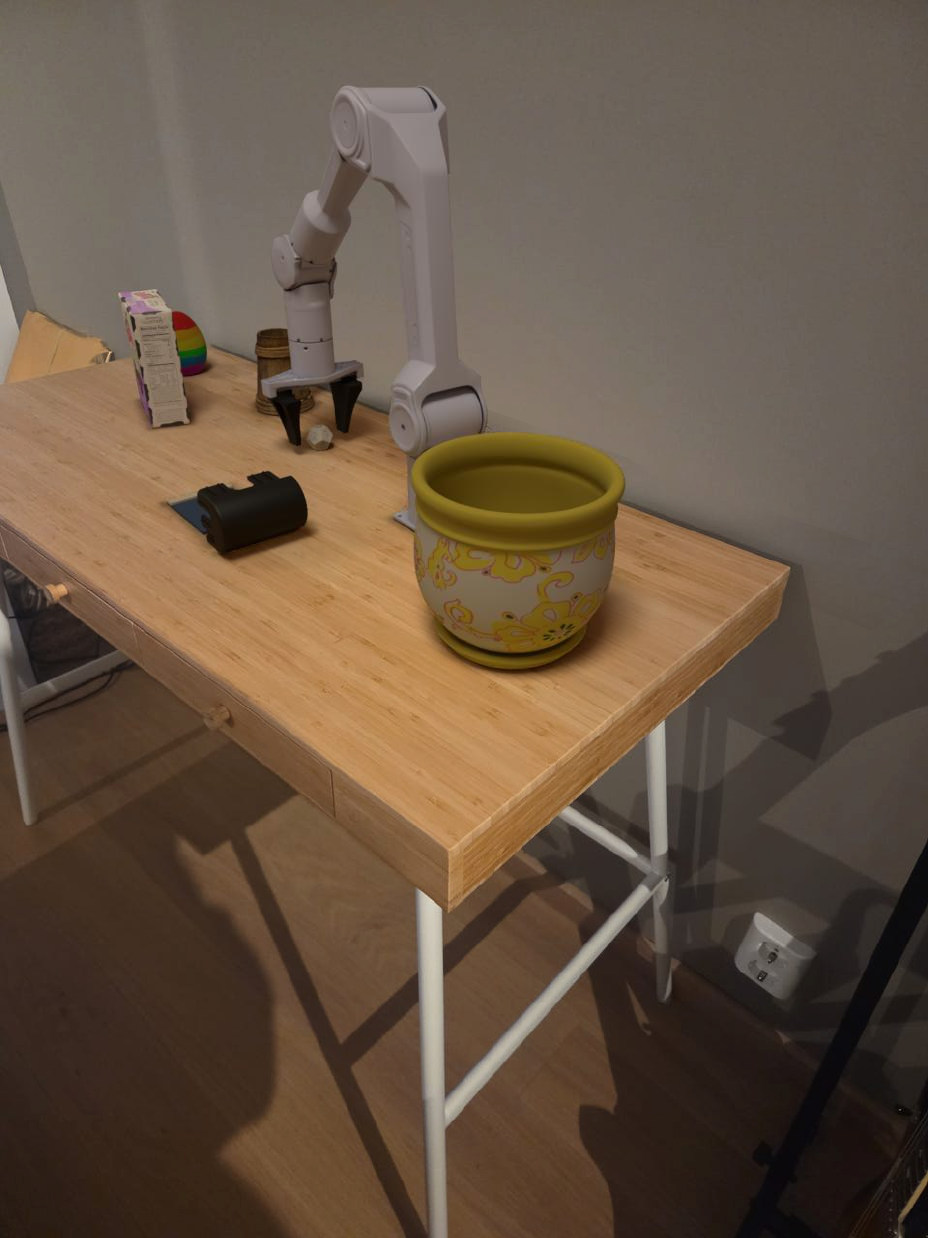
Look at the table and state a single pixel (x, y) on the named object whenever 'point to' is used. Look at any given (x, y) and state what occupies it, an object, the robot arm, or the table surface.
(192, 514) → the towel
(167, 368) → the candy box
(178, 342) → the decorative egg
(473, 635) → the flowerpot
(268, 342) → the wooden mug
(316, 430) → the game die
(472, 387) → the robot arm
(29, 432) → the table surface
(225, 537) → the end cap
